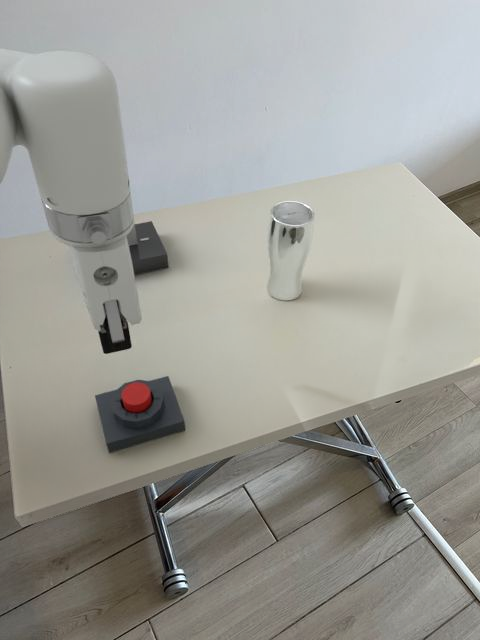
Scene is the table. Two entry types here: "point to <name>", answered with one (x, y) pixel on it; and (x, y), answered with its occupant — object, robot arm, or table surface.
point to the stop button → (136, 397)
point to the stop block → (139, 416)
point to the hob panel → (147, 250)
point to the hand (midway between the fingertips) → (116, 346)
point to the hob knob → (132, 237)
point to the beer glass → (288, 247)
